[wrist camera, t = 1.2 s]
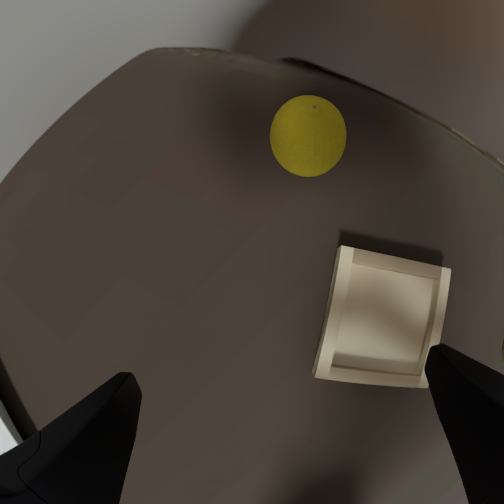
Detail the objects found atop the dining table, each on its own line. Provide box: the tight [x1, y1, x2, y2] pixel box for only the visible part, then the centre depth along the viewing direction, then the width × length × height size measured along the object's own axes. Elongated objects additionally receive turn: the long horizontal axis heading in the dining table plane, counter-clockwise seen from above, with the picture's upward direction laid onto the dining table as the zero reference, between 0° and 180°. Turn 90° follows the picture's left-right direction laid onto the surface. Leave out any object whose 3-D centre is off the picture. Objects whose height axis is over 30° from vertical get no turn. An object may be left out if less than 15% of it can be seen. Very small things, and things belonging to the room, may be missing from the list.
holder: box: [312, 245, 451, 388], centre depth 21 cm, size 10×10×2 cm
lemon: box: [270, 95, 346, 177], centre depth 20 cm, size 6×6×8 cm
